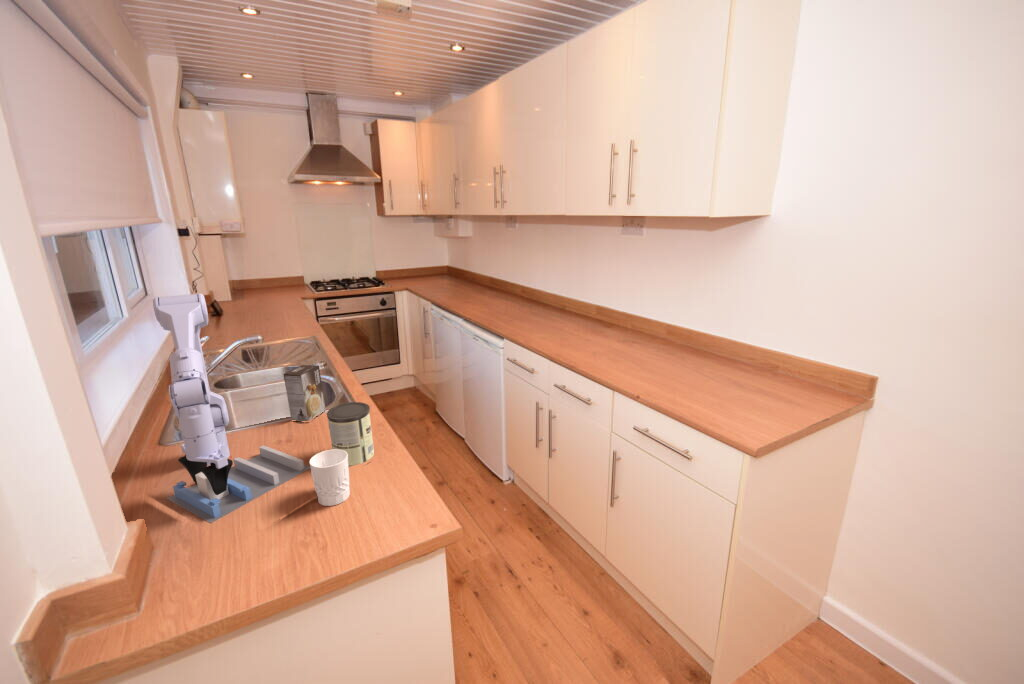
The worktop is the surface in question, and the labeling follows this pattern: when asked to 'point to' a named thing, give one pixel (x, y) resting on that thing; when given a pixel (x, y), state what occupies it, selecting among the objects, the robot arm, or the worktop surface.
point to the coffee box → (304, 392)
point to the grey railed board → (241, 484)
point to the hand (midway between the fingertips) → (211, 487)
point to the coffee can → (352, 431)
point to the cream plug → (207, 488)
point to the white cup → (330, 476)
